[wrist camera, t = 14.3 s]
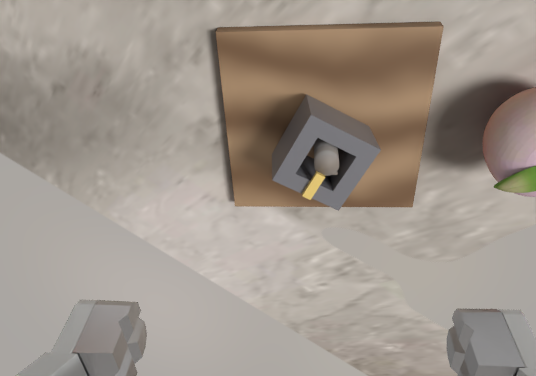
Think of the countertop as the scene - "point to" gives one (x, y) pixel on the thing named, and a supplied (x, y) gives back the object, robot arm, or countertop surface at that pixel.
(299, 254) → the countertop surface
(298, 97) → the brown square board
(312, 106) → the square tunnel box
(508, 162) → the decorative fruit
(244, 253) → the countertop surface
